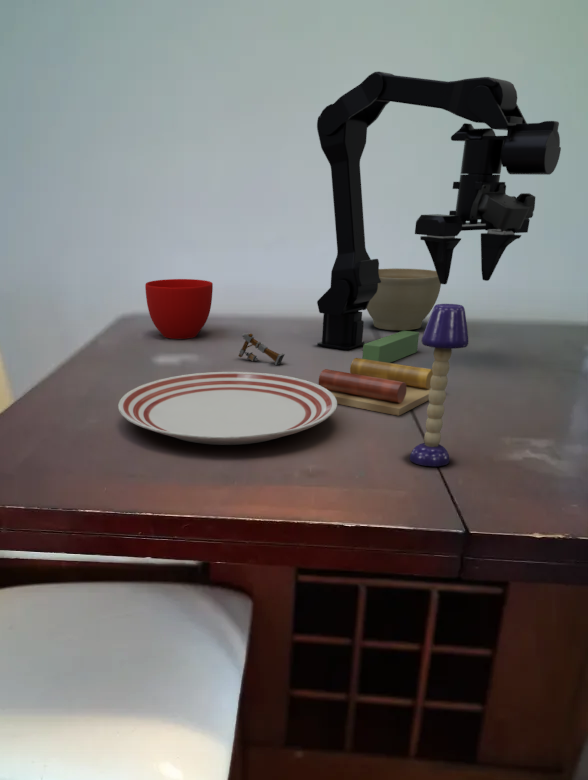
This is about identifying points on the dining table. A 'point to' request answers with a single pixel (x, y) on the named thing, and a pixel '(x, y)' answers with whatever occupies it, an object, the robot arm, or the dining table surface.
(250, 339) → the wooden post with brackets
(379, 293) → the planter bowl
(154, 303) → the ceramic cup
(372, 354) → the bar
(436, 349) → the toy lamp
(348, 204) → the robot arm
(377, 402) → the rod rack
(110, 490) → the dining table surface
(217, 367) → the dining table surface
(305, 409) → the dinner plate
